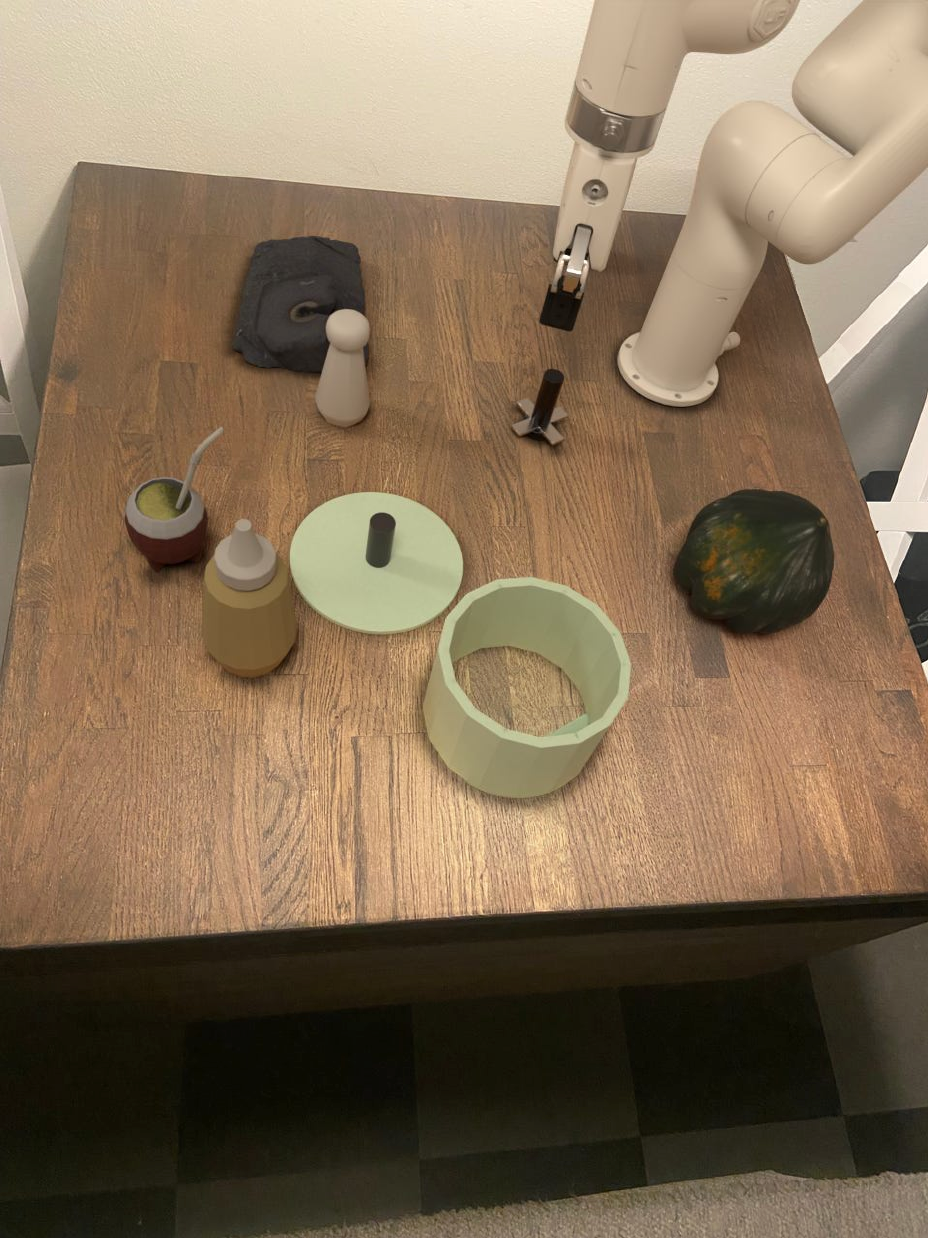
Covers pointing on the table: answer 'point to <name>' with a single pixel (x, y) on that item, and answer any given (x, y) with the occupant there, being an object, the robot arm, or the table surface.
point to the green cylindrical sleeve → (559, 634)
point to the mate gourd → (169, 517)
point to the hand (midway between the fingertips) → (562, 293)
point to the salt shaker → (344, 370)
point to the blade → (543, 411)
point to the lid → (376, 563)
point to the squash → (757, 560)
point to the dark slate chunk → (296, 301)
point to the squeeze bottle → (247, 604)
